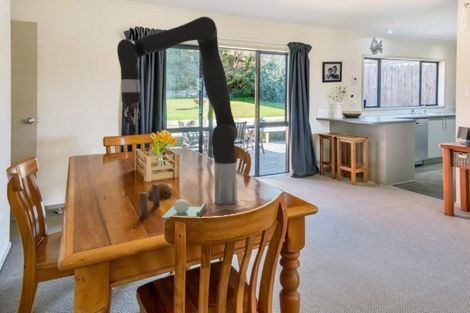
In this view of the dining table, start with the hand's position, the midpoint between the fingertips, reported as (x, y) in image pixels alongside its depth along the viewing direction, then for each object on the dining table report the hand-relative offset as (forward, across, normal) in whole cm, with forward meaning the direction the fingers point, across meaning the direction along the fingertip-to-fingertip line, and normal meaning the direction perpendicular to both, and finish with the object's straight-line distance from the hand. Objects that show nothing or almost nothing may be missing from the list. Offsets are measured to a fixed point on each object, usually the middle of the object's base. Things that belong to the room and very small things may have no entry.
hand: (133, 133), depth 147 cm
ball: (+26, -13, -24) cm, 38 cm away
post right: (+29, -6, -11) cm, 32 cm away
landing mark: (+29, -12, -25) cm, 40 cm away
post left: (+29, -18, -11) cm, 36 cm away
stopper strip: (+29, -12, -32) cm, 44 cm away
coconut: (+29, +9, -8) cm, 32 cm away
